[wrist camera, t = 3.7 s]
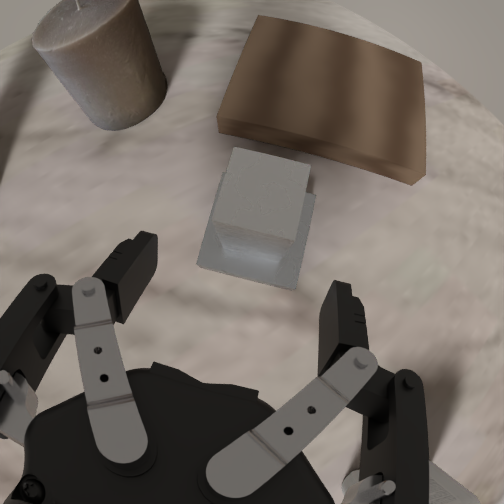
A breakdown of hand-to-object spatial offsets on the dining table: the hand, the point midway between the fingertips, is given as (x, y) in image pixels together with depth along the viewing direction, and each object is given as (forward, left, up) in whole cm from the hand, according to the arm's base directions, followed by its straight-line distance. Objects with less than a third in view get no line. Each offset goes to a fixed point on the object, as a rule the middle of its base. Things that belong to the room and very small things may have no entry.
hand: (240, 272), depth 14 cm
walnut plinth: (+4, +22, -13) cm, 26 cm away
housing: (0, +5, -13) cm, 14 cm away
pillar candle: (-18, +17, -13) cm, 28 cm away
